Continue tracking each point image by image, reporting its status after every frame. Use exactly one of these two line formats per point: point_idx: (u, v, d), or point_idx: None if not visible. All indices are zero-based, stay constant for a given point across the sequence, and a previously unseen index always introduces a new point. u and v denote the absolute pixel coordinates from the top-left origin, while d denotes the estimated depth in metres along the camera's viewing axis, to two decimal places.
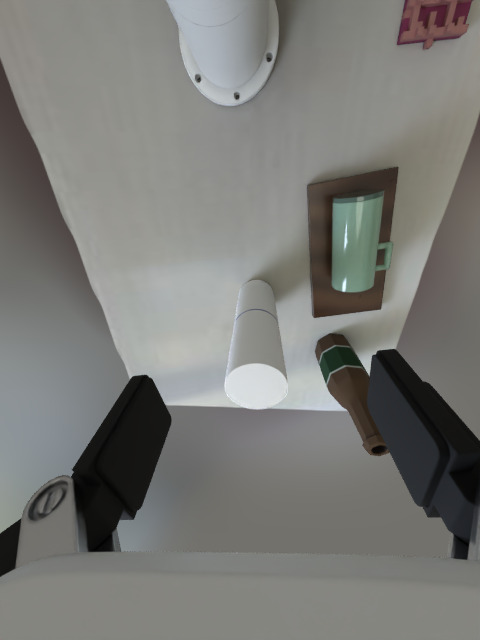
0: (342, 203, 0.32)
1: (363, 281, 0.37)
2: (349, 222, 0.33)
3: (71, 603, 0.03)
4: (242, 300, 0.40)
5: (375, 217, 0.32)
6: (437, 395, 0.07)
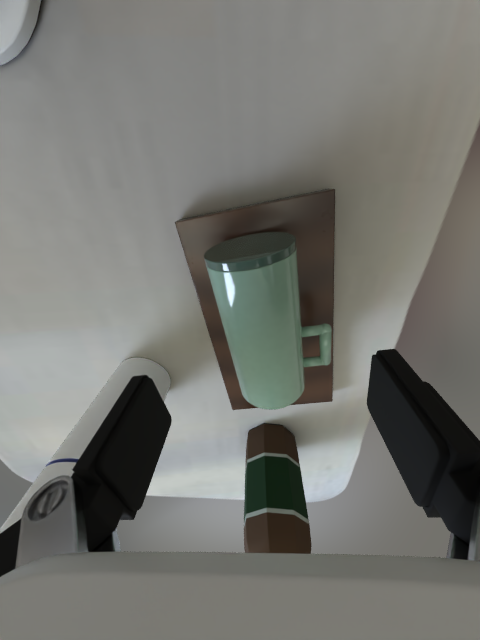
0: (210, 269, 0.16)
1: (278, 396, 0.20)
2: (229, 305, 0.16)
3: (71, 603, 0.03)
4: (84, 413, 0.24)
5: (278, 298, 0.15)
6: (437, 395, 0.07)
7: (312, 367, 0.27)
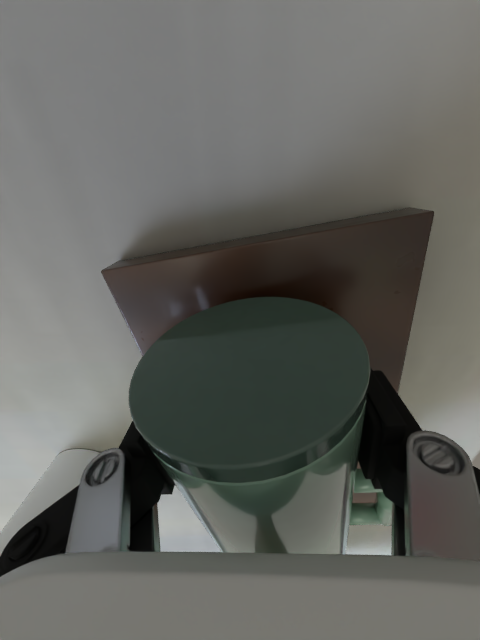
0: None
1: None
2: (192, 507, 0.06)
3: (71, 603, 0.03)
4: None
5: (319, 512, 0.06)
6: (387, 381, 0.08)
7: None
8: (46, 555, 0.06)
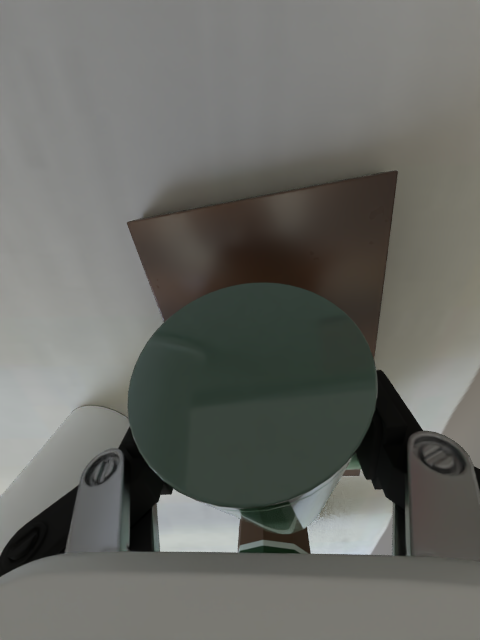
0: None
1: (291, 531, 0.13)
2: None
3: (71, 603, 0.03)
4: None
5: (315, 503, 0.06)
6: (388, 381, 0.08)
7: None
8: (45, 555, 0.06)
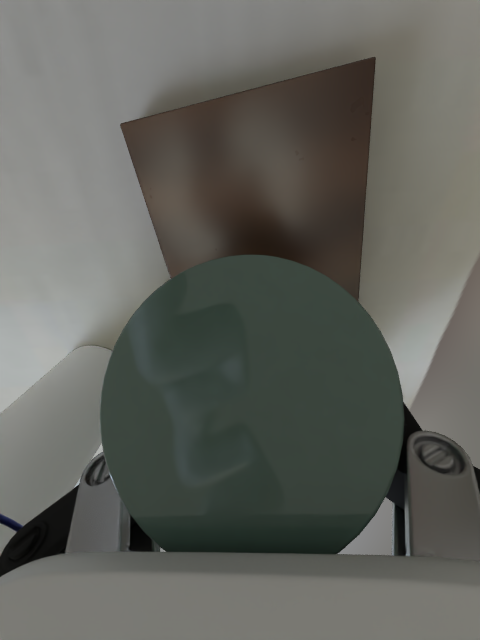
0: None
1: None
2: None
3: (71, 603, 0.03)
4: None
5: None
6: None
7: None
8: (46, 555, 0.06)
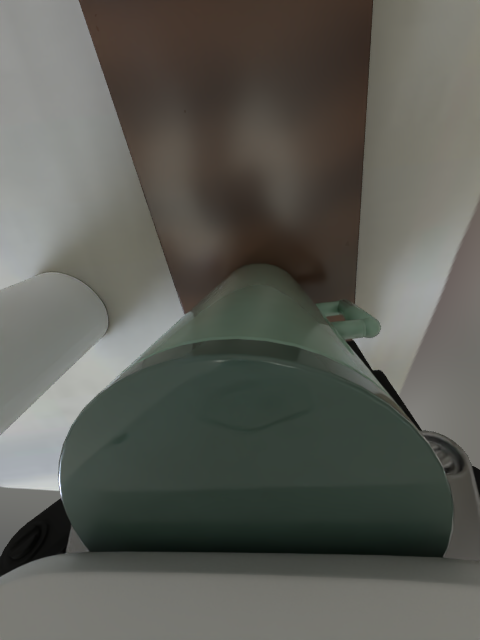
0: None
1: None
2: None
3: (71, 603, 0.03)
4: None
5: None
6: (387, 381, 0.08)
7: (322, 278, 0.16)
8: (46, 555, 0.06)
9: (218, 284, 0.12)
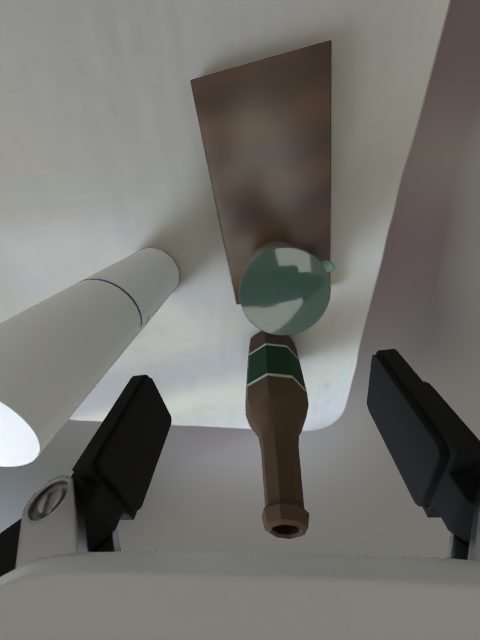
0: None
1: None
2: None
3: (71, 603, 0.03)
4: None
5: None
6: (437, 395, 0.07)
7: (311, 249, 0.29)
8: None
9: (259, 248, 0.25)
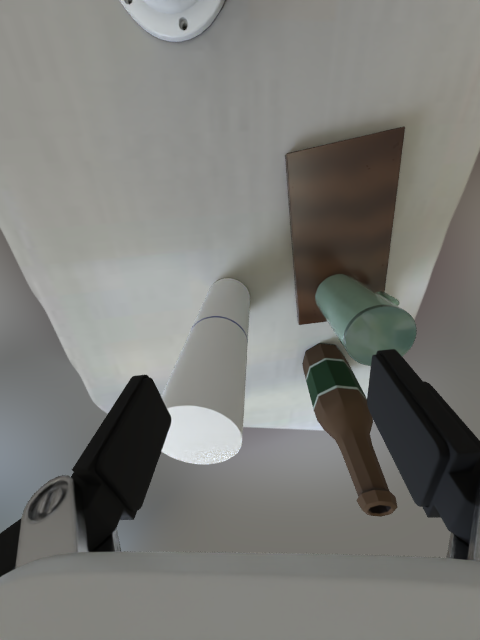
0: None
1: None
2: None
3: (71, 603, 0.03)
4: (204, 304, 0.32)
5: None
6: (438, 395, 0.07)
7: (369, 281, 0.35)
8: None
9: (335, 287, 0.30)
